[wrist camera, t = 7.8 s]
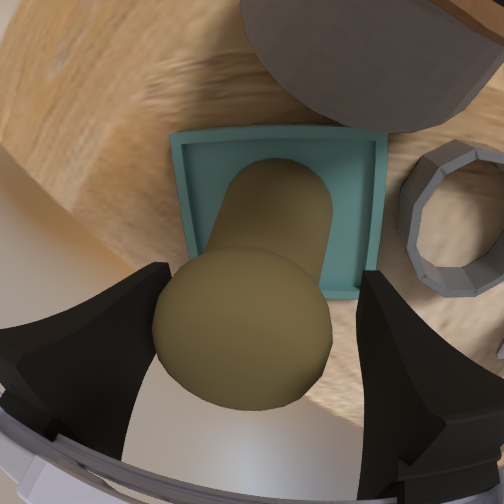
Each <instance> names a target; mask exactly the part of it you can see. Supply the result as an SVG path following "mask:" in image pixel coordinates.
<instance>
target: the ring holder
mask: <svg viewBox="0 0 504 504" xmlns="http://www.w3.org/2000/svg"><path fill="white" fill-rule="evenodd" d="M476 159H480V160H486V161H492V162H494V163H495V164H496V165H497V167H498V168H499V169H500V170H501V171H502V172H503V173H504V153H503V152H501V151H499V150H497V149H495V148H493V147H490V146H488V145H485V144H480V143H474V142H469V141H463V140H457V139H455V140H453V141H451V142H449V143H447V144H445V145H443V146H441V147H439V148H437V149H435V150H433V151H431V152H429V153H427V154H425V155H423V156H422V157H421V159H420V160H419V162H418V163H417V165H416V167H415V168H414V170H413V171H412V173H411V174H410V176H409V177H408V179H407V180H406V182H405V183H404V185H403V186H402V188H401V190H400V200H399V209H398V217H397V225H396V228H397V230H398V232H399V235H400V237H401V239H402V242H403V244H404V247H405V249H406V252H407V254H408V257H409V259H410V261H411V263H412V266H413V268H414V270H415V272H416V274H417V277H418V279H419V281H420V282H422V283H423V284H425V285H426V286H428V287H430V288H431V289H433V290H434V291H436V292H437V293H439V294H440V295H442V296H443V297H476V296H478V295H480V294H482V293H483V292H485V291H487V290H489V289H491V288H493V287H494V286H496V285H498V284H500V283H501V282H503V281H504V232H503V233H502V234H501V236H500V237H499V238H498V240H497V241H496V243H495V244H494V245H493V247H492V248H491V249H490V250H489V252H488V253H487V254H486V255H485V256H483V257H481V258H479V259H478V260H476V261H474V262H472V263H470V264H468V265H466V266H464V267H462V268H451V267H435V266H434V265H433V264H431V263H430V262H428V261H427V260H425V259H424V258H423V257H421V256H420V255H419V252H418V250H417V247H416V244H417V238H418V233H419V227H420V221H421V214H422V208H423V207H424V206H425V204H426V203H427V201H428V200H429V198H430V197H431V196H432V194H433V193H434V191H435V190H436V188H437V187H438V185H439V184H440V182H441V181H442V179H443V178H444V176H445V175H447V174H449V173H451V172H452V171H454V170H456V169H458V168H460V167H462V166H464V165H466V164H468V163H470V162H472V161H474V160H476Z"/></svg>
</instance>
